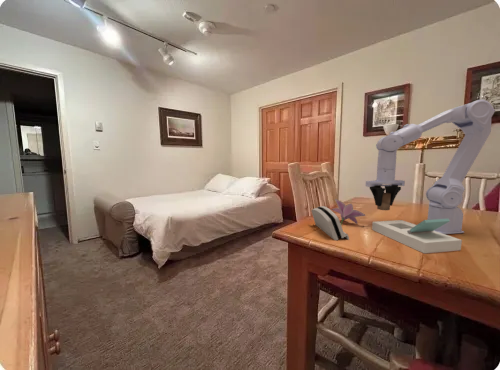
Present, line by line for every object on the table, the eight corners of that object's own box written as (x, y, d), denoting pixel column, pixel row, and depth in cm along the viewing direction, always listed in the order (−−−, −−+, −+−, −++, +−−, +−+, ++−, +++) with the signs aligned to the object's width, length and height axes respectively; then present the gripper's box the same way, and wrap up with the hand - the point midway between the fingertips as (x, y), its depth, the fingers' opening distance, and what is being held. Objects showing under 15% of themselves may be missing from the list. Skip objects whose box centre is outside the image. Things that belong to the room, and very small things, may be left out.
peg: (384, 207, 83) (385, 192, 82) (392, 210, 79) (393, 194, 78) (374, 208, 82) (375, 192, 82) (382, 210, 79) (383, 194, 78)
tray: (400, 227, 80) (401, 220, 80) (460, 250, 61) (461, 239, 60) (372, 229, 78) (372, 221, 78) (424, 253, 59) (425, 242, 59)
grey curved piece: (350, 239, 69) (341, 211, 68) (336, 245, 69) (327, 216, 67) (327, 224, 85) (320, 201, 84) (316, 228, 85) (308, 205, 84)
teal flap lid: (430, 229, 68) (448, 218, 62) (431, 232, 67) (450, 221, 61) (406, 231, 66) (423, 219, 61) (408, 233, 66) (425, 222, 60)
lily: (367, 232, 79) (371, 207, 82) (340, 221, 77) (345, 196, 80) (345, 231, 91) (349, 210, 93) (321, 222, 89) (326, 200, 91)
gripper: (394, 168, 84) (392, 202, 86) (361, 168, 82) (359, 203, 83) (410, 169, 77) (407, 206, 79) (374, 169, 75) (371, 207, 77)
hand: (383, 205), depth 81 cm, fingers closed on peg, 4 cm apart
